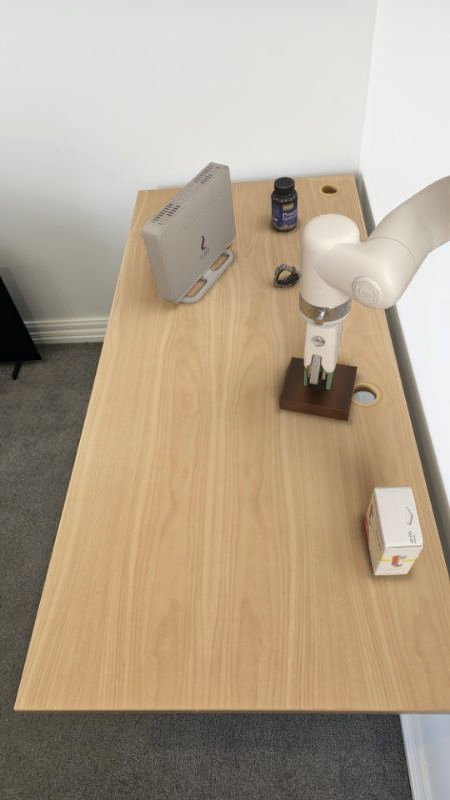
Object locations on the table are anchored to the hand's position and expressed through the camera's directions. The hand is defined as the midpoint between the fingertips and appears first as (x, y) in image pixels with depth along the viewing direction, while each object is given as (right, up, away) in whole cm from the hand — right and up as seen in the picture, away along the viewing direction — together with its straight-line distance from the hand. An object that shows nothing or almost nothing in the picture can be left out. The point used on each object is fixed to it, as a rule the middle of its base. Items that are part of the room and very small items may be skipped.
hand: (319, 376), depth 87 cm
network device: (-22, +24, +27) cm, 42 cm away
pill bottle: (-2, +38, +34) cm, 51 cm away
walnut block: (+1, -3, +4) cm, 5 cm away
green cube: (0, 0, 0) cm, 0 cm away
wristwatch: (-3, +21, +22) cm, 31 cm away
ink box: (+7, -26, -13) cm, 30 cm away
